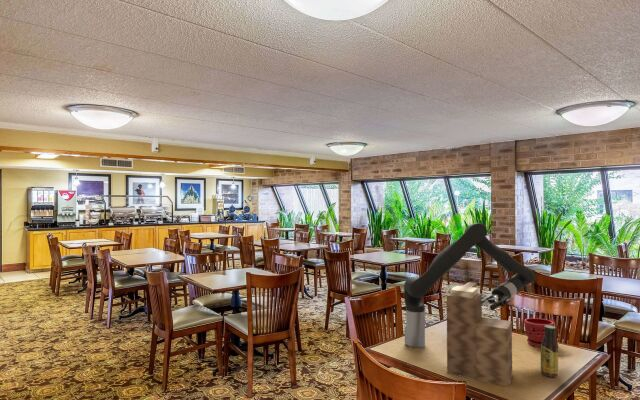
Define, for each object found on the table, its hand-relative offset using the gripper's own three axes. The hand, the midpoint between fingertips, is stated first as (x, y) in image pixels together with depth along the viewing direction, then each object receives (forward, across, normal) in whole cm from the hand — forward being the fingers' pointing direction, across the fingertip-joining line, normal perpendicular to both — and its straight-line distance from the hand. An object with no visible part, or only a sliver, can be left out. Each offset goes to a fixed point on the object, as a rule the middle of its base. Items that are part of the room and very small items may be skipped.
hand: (483, 307), depth 176 cm
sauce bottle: (-1, +20, +28) cm, 35 cm away
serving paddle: (+11, +5, -13) cm, 17 cm away
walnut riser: (+22, +8, +18) cm, 30 cm away
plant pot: (-30, -4, +35) cm, 46 cm away
